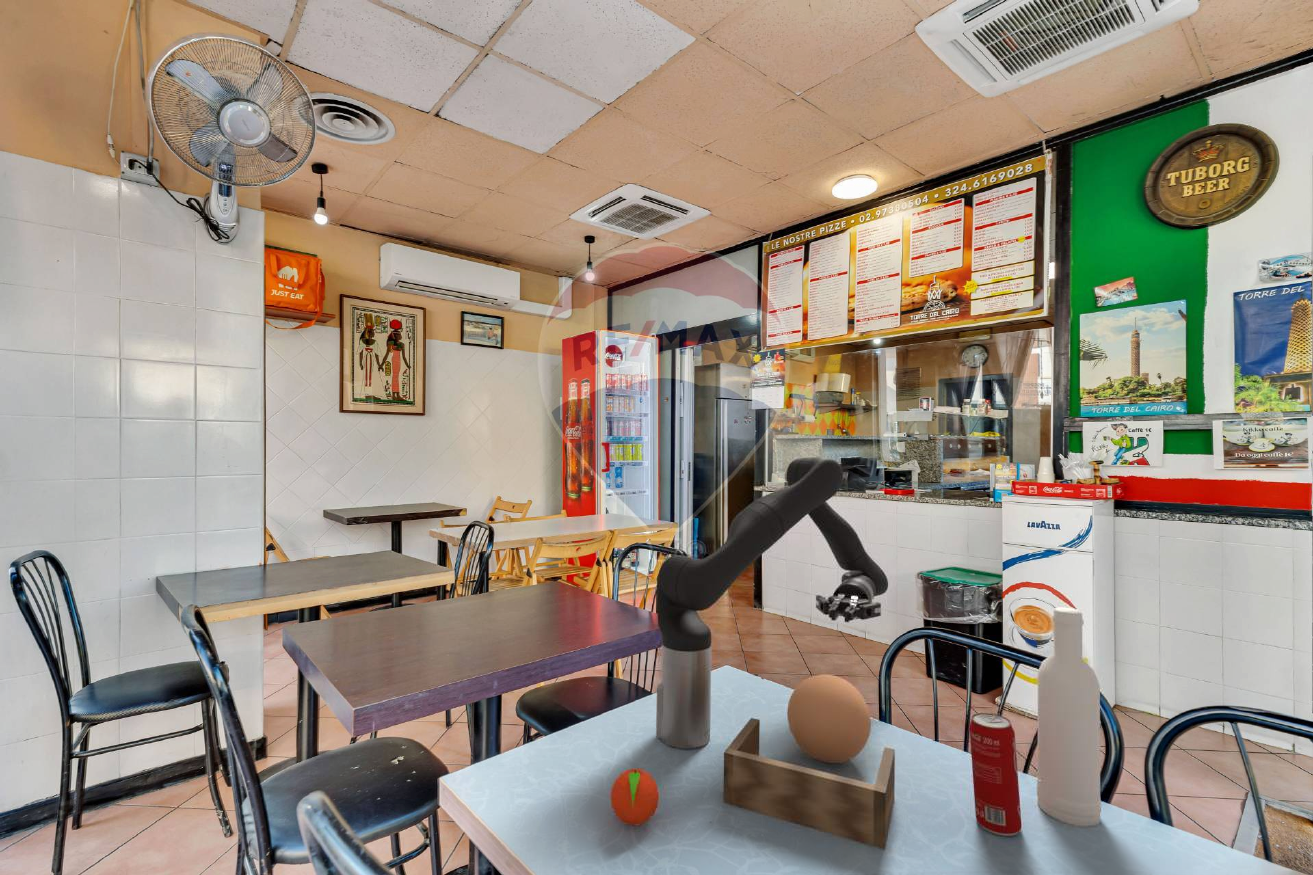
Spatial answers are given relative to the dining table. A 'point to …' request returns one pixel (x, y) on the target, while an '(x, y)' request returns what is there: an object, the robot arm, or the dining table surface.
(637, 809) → the clementine
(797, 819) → the pocket
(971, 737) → the beverage can
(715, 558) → the robot arm
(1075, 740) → the bottle
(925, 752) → the dining table surface
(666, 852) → the dining table surface
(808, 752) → the ball
